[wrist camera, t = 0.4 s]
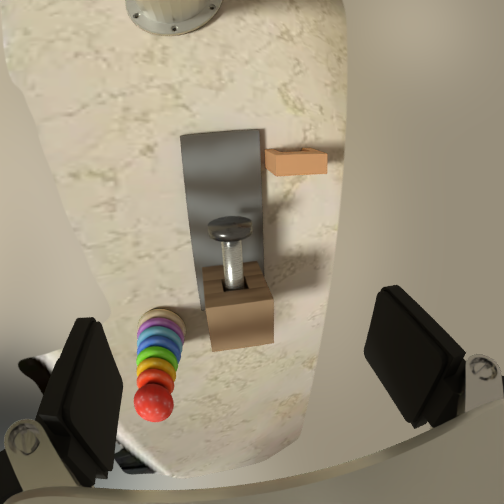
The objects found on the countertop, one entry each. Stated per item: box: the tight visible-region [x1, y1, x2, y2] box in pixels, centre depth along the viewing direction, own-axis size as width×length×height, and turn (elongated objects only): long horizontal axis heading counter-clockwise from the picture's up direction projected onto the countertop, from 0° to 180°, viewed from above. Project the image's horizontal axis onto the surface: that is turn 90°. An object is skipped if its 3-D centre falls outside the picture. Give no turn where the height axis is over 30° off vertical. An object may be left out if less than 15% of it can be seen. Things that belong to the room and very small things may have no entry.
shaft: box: [208, 216, 253, 292], centre depth 40 cm, size 16×5×5 cm, turn 3°
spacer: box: [265, 148, 327, 176], centre depth 38 cm, size 2×6×6 cm, turn 93°
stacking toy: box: [134, 309, 186, 422], centre depth 40 cm, size 8×8×19 cm
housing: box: [180, 130, 274, 352], centre depth 38 cm, size 26×10×11 cm, turn 3°
